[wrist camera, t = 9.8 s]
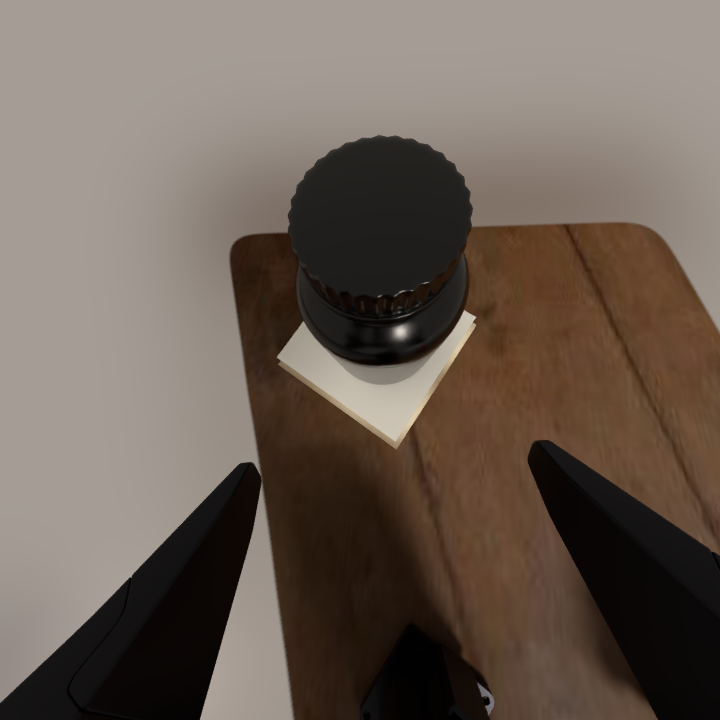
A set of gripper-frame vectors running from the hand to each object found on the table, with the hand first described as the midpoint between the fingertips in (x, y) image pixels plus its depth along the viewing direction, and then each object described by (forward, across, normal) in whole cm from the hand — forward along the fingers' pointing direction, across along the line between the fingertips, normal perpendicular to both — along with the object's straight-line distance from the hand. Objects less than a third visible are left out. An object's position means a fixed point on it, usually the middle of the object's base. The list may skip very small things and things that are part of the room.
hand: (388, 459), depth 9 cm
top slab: (+12, 0, +3) cm, 13 cm away
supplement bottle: (+11, 0, +2) cm, 11 cm away
